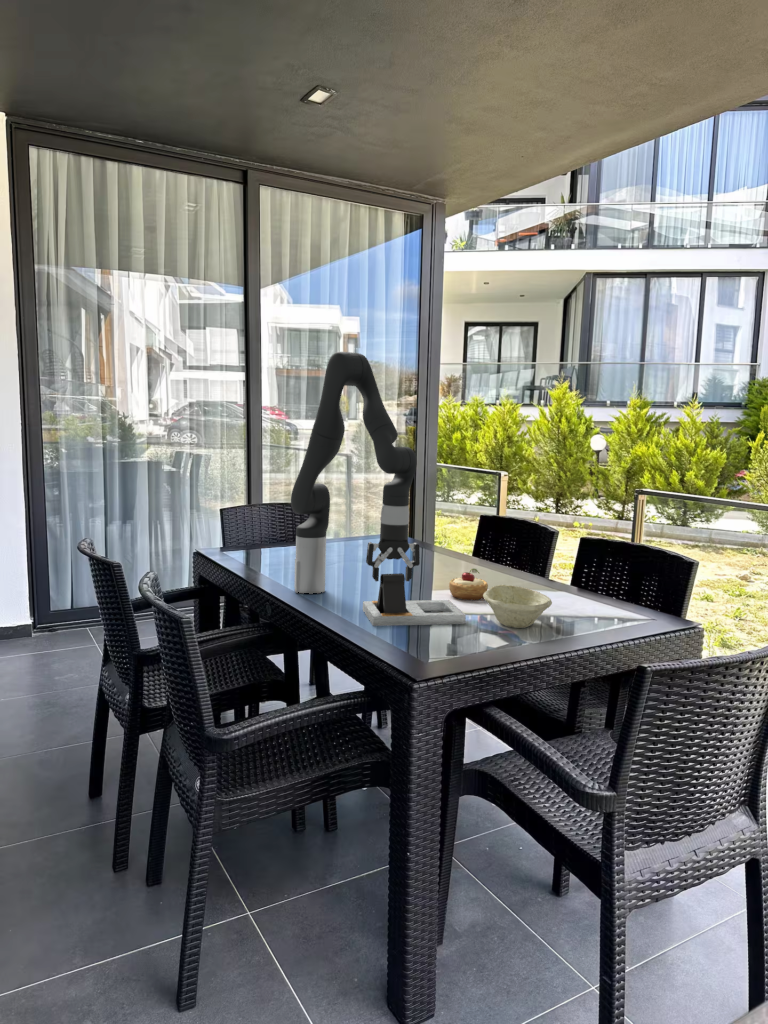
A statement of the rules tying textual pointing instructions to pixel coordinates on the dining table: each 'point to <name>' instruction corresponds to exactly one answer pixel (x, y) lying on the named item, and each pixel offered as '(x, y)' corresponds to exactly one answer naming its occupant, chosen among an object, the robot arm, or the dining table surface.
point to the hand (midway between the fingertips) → (392, 580)
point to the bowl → (516, 605)
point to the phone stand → (392, 594)
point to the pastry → (468, 587)
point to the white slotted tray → (416, 614)
